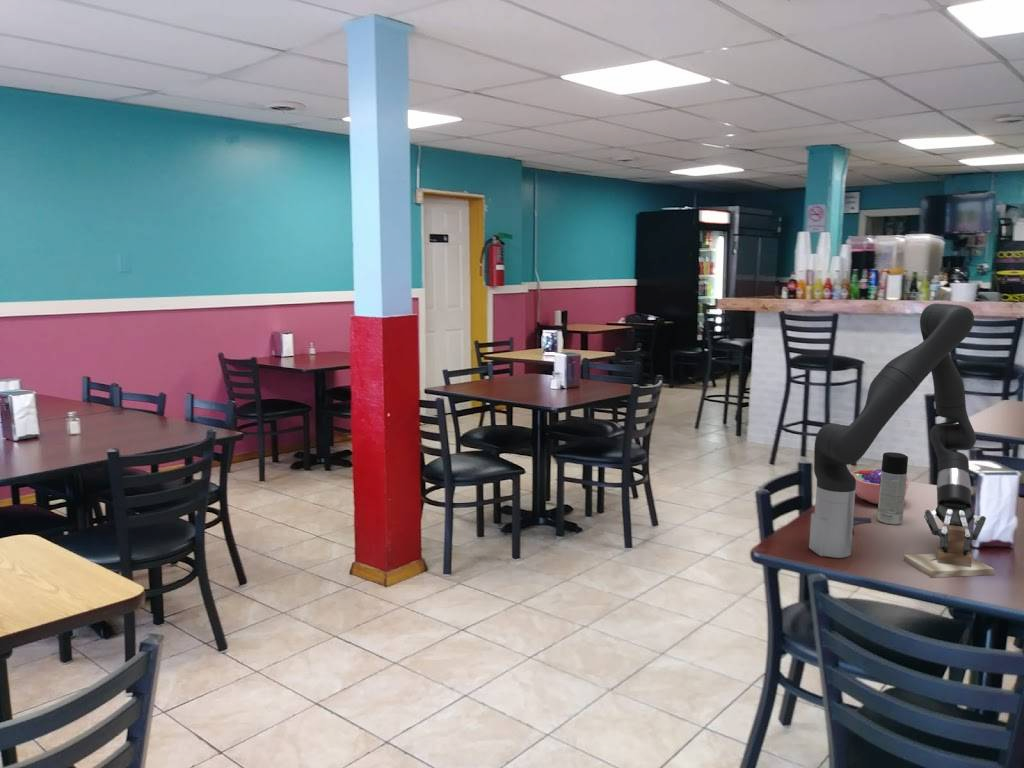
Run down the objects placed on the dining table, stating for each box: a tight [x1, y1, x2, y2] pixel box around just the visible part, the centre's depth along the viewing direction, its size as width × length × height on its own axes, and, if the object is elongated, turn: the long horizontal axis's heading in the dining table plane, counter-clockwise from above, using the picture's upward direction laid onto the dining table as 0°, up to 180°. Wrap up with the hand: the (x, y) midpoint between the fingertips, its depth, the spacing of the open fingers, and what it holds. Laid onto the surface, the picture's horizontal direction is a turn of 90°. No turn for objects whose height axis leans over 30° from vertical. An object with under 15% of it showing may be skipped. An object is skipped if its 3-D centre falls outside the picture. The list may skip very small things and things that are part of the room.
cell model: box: [850, 468, 911, 505], centre depth 246 cm, size 17×20×11 cm
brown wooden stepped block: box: [935, 525, 973, 567], centre depth 192 cm, size 7×5×8 cm
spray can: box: [877, 451, 909, 526], centre depth 226 cm, size 7×7×20 cm
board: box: [902, 553, 995, 578], centre depth 192 cm, size 16×11×2 cm
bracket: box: [852, 516, 872, 536], centre depth 223 cm, size 14×15×3 cm
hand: (955, 551), depth 190 cm, fingers closed on brown wooden stepped block, 3 cm apart
